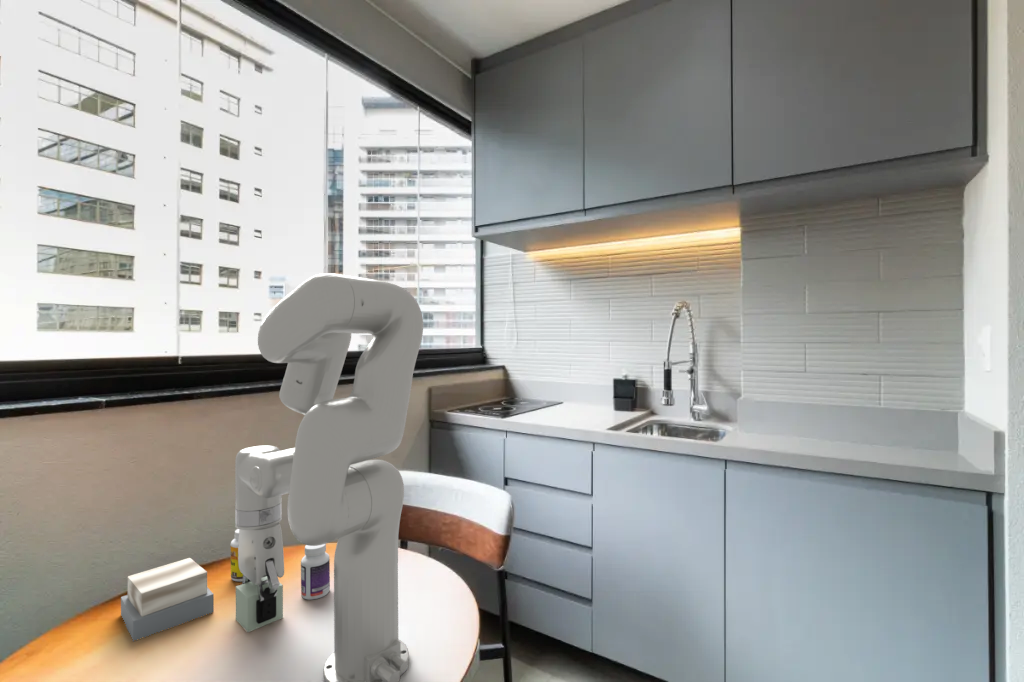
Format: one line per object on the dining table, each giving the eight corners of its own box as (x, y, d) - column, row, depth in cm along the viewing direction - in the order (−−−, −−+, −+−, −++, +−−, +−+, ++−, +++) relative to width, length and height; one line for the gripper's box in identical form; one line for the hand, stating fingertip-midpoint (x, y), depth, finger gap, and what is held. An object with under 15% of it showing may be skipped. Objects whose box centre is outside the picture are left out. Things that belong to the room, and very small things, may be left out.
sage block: (282, 617, 88) (282, 584, 88) (247, 632, 83) (247, 597, 83) (270, 606, 92) (269, 574, 92) (235, 619, 87) (235, 586, 87)
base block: (213, 615, 90) (213, 594, 90) (133, 645, 81) (133, 621, 81) (195, 593, 98) (195, 574, 98) (120, 618, 89) (120, 596, 89)
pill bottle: (334, 587, 99) (334, 540, 99) (321, 601, 93) (321, 551, 93) (309, 586, 99) (309, 539, 99) (295, 599, 94) (295, 550, 94)
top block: (207, 593, 90) (207, 571, 90) (141, 616, 82) (141, 593, 82) (189, 577, 96) (189, 557, 96) (127, 597, 89) (127, 576, 89)
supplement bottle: (231, 574, 105) (231, 527, 105) (259, 568, 107) (259, 523, 108) (229, 585, 100) (229, 536, 100) (259, 578, 103) (259, 531, 103)
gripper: (299, 520, 85) (300, 622, 84) (262, 499, 96) (262, 589, 96) (254, 532, 79) (254, 641, 79) (220, 509, 91) (220, 604, 90)
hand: (259, 612), depth 87 cm, fingers closed on sage block, 6 cm apart
